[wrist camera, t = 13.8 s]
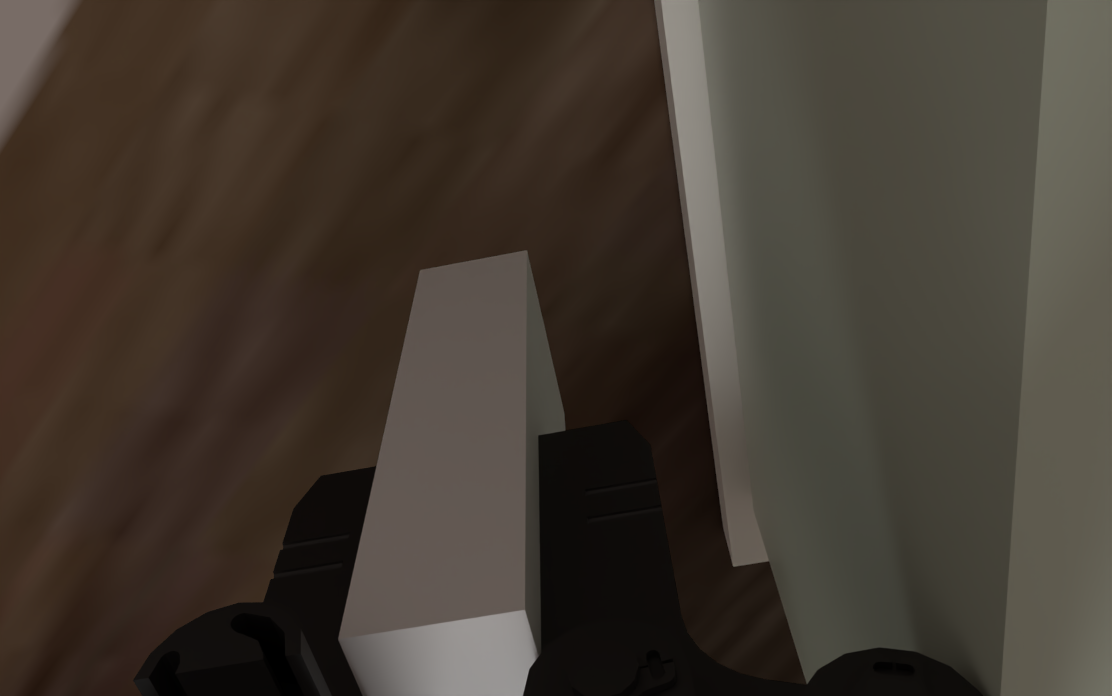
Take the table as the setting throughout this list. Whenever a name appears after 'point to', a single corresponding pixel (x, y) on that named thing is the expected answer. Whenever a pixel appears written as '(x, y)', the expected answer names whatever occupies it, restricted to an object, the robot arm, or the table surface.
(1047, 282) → the hood
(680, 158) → the board
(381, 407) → the table surface
